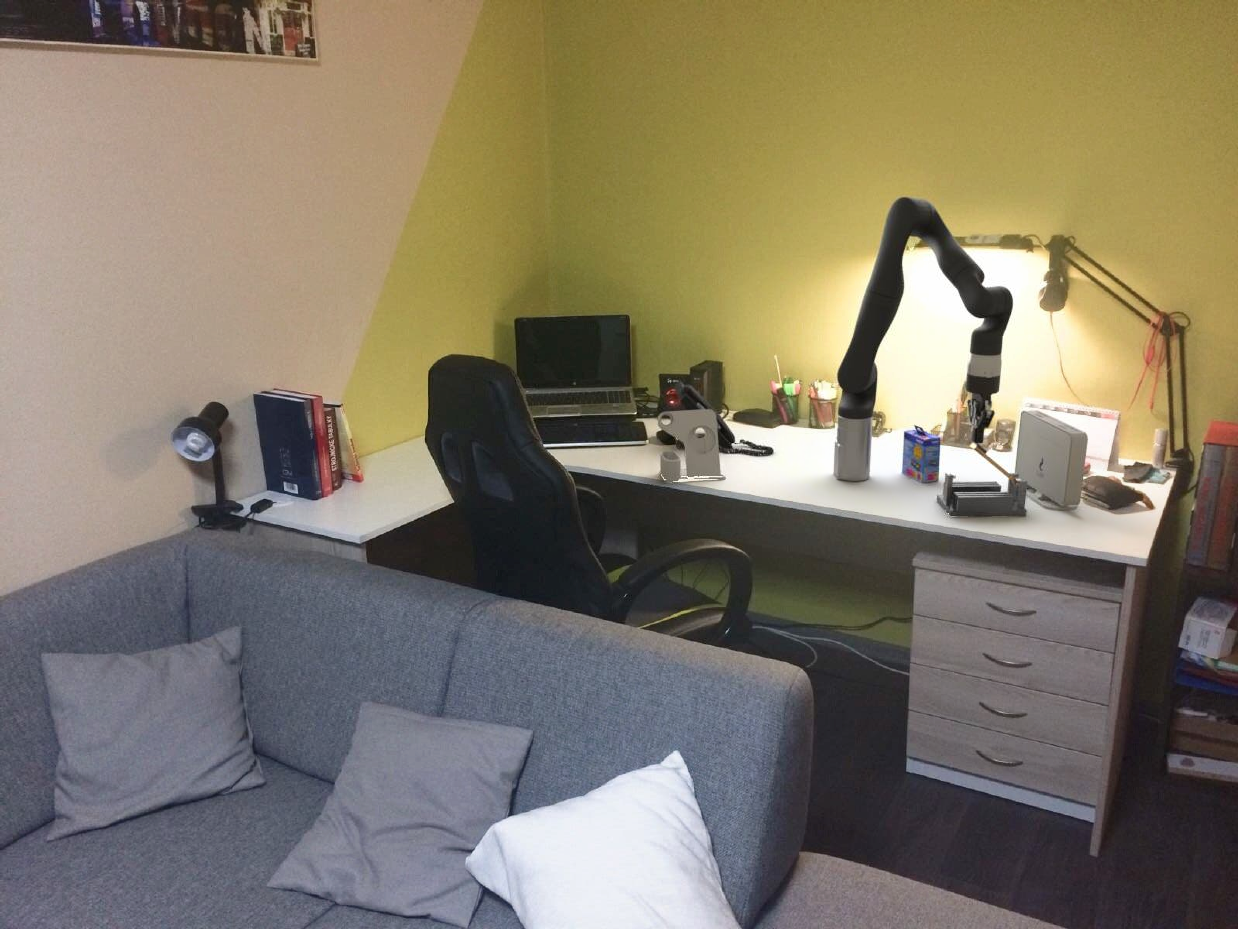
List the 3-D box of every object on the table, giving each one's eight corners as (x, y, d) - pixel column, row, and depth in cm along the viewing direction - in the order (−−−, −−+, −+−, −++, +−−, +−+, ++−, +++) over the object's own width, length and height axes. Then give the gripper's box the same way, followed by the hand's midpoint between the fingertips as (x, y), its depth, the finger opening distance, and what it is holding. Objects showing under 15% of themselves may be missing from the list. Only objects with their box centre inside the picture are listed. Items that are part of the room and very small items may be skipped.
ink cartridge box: (900, 473, 268) (903, 422, 264) (917, 470, 270) (920, 420, 266) (921, 483, 259) (925, 431, 255) (939, 481, 261) (943, 428, 257)
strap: (972, 451, 233) (979, 444, 233) (967, 446, 237) (973, 440, 237) (1020, 490, 236) (1026, 484, 235) (1014, 485, 240) (1020, 479, 239)
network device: (1005, 482, 258) (1012, 409, 253) (1037, 481, 259) (1045, 408, 253) (1054, 515, 234) (1064, 435, 228) (1089, 513, 235) (1099, 433, 229)
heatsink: (950, 517, 234) (953, 481, 231) (936, 500, 246) (939, 466, 243) (1028, 516, 233) (1032, 480, 231) (1010, 500, 245) (1013, 466, 242)
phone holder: (664, 483, 264) (664, 419, 258) (657, 472, 273) (657, 410, 268) (726, 479, 266) (727, 415, 261) (717, 469, 276) (718, 407, 270)
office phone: (775, 456, 287) (777, 390, 281) (680, 459, 286) (679, 392, 280) (758, 431, 315) (760, 370, 309) (671, 434, 314) (671, 372, 308)
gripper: (959, 366, 236) (953, 435, 241) (976, 378, 223) (970, 450, 228) (990, 366, 236) (984, 435, 241) (1009, 377, 223) (1002, 449, 228)
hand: (977, 442), depth 235 cm, fingers closed
